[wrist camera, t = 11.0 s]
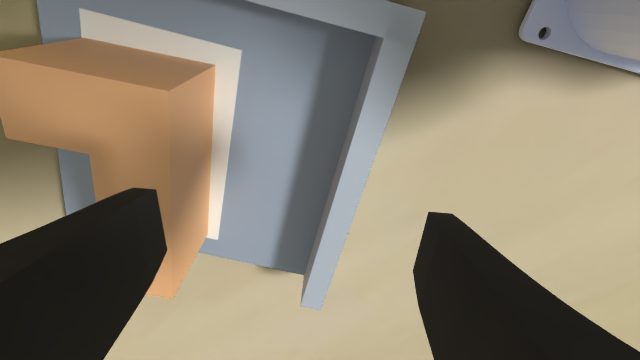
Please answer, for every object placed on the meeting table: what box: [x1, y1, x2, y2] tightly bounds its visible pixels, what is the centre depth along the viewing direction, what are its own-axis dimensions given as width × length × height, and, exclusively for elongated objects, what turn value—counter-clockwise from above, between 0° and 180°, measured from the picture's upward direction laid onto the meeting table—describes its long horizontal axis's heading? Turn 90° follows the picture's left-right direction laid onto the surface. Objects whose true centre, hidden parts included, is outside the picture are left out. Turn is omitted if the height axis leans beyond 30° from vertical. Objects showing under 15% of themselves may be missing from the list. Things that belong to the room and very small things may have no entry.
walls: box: [246, 0, 427, 310], centre depth 17 cm, size 16×16×4 cm
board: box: [36, 0, 376, 275], centre depth 18 cm, size 16×16×1 cm
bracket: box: [0, 38, 216, 299], centre depth 16 cm, size 10×6×5 cm, turn 169°
